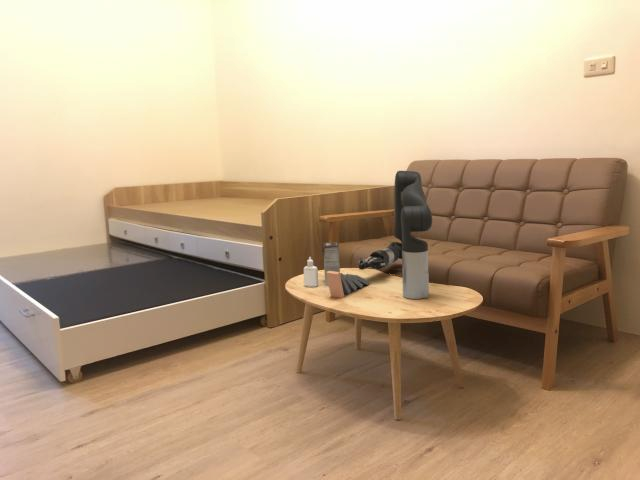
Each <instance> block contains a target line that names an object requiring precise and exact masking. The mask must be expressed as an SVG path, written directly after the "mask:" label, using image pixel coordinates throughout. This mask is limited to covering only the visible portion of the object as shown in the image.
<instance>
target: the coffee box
mask: <svg viewBox="0 0 640 480" xmlns="http://www.w3.org/2000/svg"><path fill="white" fill-rule="evenodd" d="M339 243H340V242H339V241H329V242H326V241H324V242H323V261H324V262H323V267H324V269H323V270H324V272H323V273H324V285H325V286H329V285H328V280H327V274H326V272H328V271H335V272H340V273H341V267H340V266H341V265H340V263H341V262H340V244H339Z"/></svg>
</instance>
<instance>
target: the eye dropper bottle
mask: <svg viewBox="0 0 640 480" xmlns="http://www.w3.org/2000/svg"><path fill="white" fill-rule="evenodd" d="M306 263H307V265H306V266H304V267H303V284H304V287H306V286H307V288H316V287H318V286H319V270H318V267H317V266H315V265H314V260H313V259H312V257H311V256H309V257H308V259H307V261H306Z"/></svg>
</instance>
